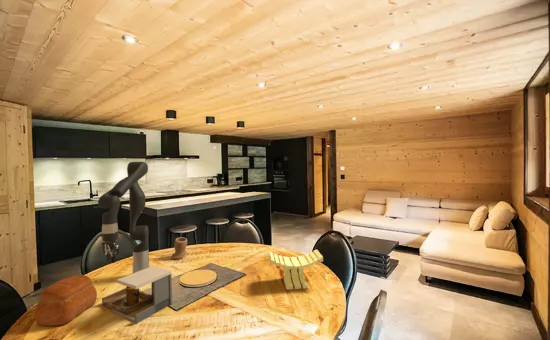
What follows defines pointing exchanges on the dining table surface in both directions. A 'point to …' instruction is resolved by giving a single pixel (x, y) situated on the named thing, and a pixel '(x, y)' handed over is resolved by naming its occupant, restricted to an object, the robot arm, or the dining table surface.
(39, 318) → the bread
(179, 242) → the brown boot
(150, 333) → the dining table surface
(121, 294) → the tray
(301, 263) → the slatted curved stool
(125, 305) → the condiment
